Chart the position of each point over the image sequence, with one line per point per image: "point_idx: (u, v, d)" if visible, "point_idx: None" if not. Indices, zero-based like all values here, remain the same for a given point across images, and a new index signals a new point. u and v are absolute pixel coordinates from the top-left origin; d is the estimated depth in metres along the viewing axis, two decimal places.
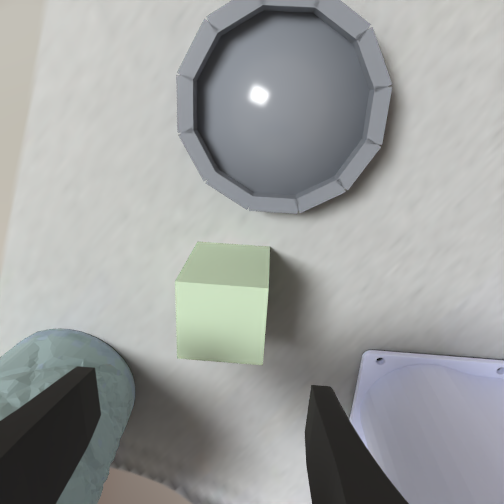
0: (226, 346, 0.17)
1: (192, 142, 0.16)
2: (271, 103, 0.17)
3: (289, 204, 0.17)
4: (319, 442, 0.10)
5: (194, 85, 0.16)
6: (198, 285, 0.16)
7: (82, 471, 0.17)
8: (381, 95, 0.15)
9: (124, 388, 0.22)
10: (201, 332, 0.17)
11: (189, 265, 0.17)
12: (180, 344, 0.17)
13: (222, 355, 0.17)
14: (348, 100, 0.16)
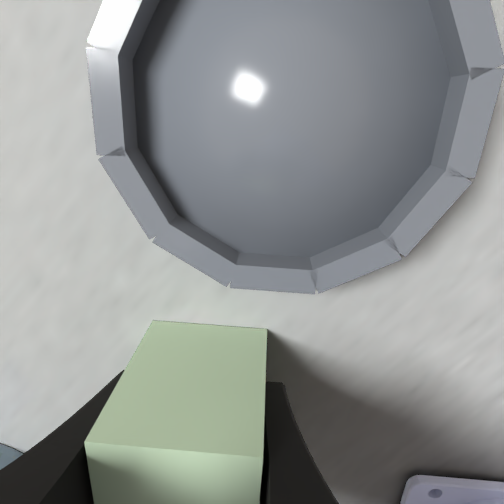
0: None
1: (125, 172, 0.09)
2: (268, 101, 0.09)
3: (300, 278, 0.10)
4: None
5: (124, 67, 0.09)
6: (128, 449, 0.08)
7: None
8: (481, 85, 0.08)
9: None
10: None
11: (124, 387, 0.10)
12: None
13: None
14: (410, 96, 0.09)
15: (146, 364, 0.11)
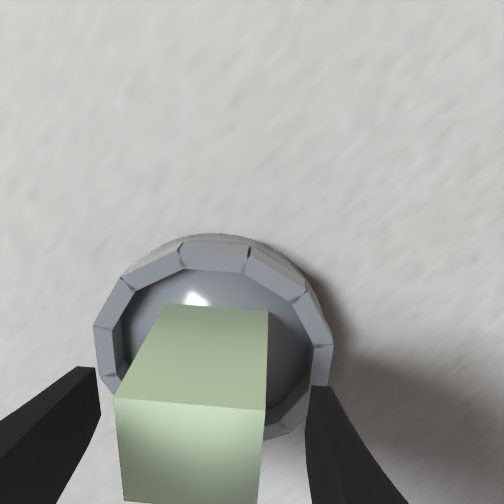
0: (198, 487, 0.11)
1: (116, 384, 0.15)
2: None
3: None
4: (319, 442, 0.10)
5: (115, 329, 0.14)
6: (150, 404, 0.10)
7: None
8: (322, 351, 0.14)
9: None
10: (160, 468, 0.11)
11: (144, 356, 0.11)
12: (127, 482, 0.11)
13: (194, 499, 0.11)
14: (289, 340, 0.15)
15: (162, 338, 0.12)
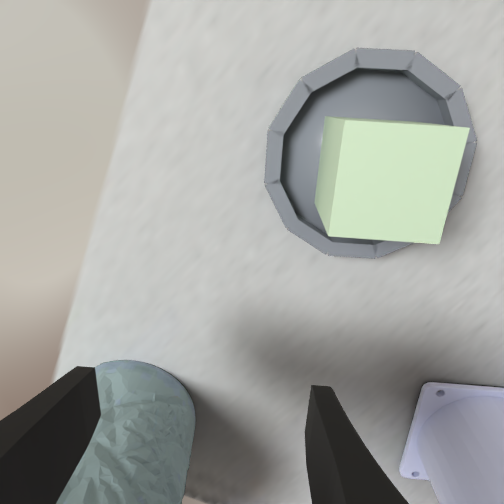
0: (395, 217, 0.13)
1: (278, 192, 0.17)
2: None
3: (367, 249, 0.18)
4: (319, 442, 0.10)
5: None
6: (375, 125, 0.12)
7: None
8: (465, 150, 0.16)
9: (189, 418, 0.23)
10: (367, 197, 0.13)
11: (342, 118, 0.14)
12: (335, 215, 0.13)
13: (389, 231, 0.13)
14: None
15: (345, 118, 0.14)
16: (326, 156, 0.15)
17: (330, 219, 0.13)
